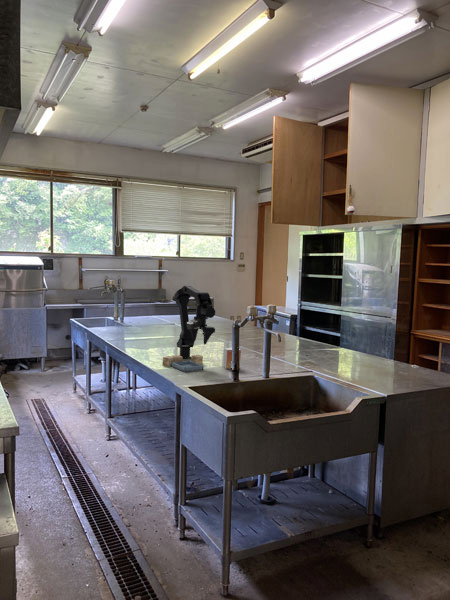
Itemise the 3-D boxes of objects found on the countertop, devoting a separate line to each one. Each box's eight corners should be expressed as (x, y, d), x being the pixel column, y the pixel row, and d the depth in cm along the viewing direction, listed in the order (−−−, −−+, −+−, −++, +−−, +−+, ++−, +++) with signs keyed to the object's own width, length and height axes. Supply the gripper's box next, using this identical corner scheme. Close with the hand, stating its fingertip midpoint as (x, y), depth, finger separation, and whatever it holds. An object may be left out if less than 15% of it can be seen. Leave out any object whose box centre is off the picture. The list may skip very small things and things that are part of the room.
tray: (170, 366, 250) (171, 362, 249) (189, 364, 257) (189, 360, 256) (184, 372, 239) (184, 367, 239) (203, 369, 246) (203, 365, 246)
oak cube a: (191, 363, 260) (191, 355, 260) (197, 362, 263) (198, 354, 263) (195, 364, 257) (196, 356, 256) (202, 364, 260) (202, 356, 259)
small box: (225, 369, 251) (226, 349, 250) (223, 366, 256) (224, 347, 255) (240, 368, 253) (241, 349, 252) (237, 366, 258) (238, 347, 258)
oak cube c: (162, 365, 252) (162, 357, 251) (167, 363, 255) (168, 355, 255) (168, 366, 249) (169, 358, 249) (174, 365, 253) (174, 357, 253)
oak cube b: (171, 363, 257) (172, 355, 256) (179, 363, 259) (180, 355, 258) (174, 365, 253) (174, 357, 252) (182, 365, 255) (182, 357, 254)
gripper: (179, 313, 258) (177, 340, 260) (200, 318, 244) (198, 347, 246) (194, 312, 266) (193, 339, 267) (216, 317, 252) (214, 345, 254)
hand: (199, 342), depth 258 cm, fingers open, 9 cm apart
